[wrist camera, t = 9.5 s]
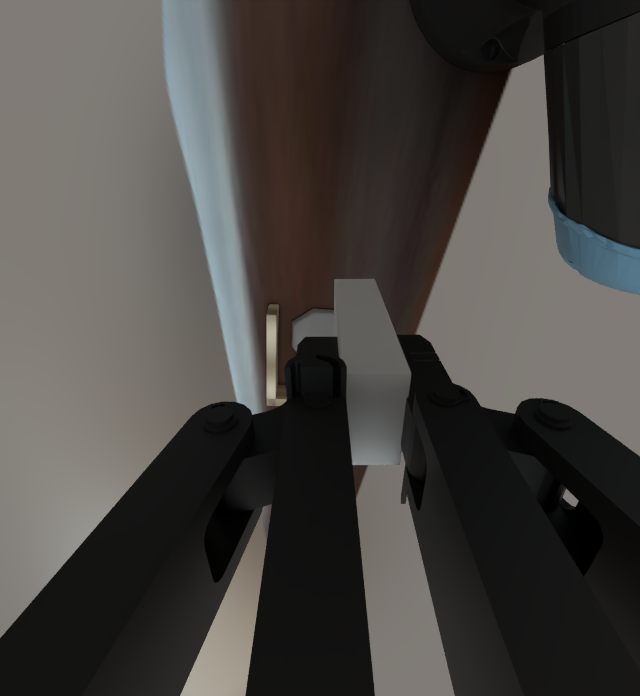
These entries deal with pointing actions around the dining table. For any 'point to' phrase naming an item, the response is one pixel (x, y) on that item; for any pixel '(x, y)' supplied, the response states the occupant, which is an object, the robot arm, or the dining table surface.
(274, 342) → the caddy
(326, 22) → the dining table surface
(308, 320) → the flask
